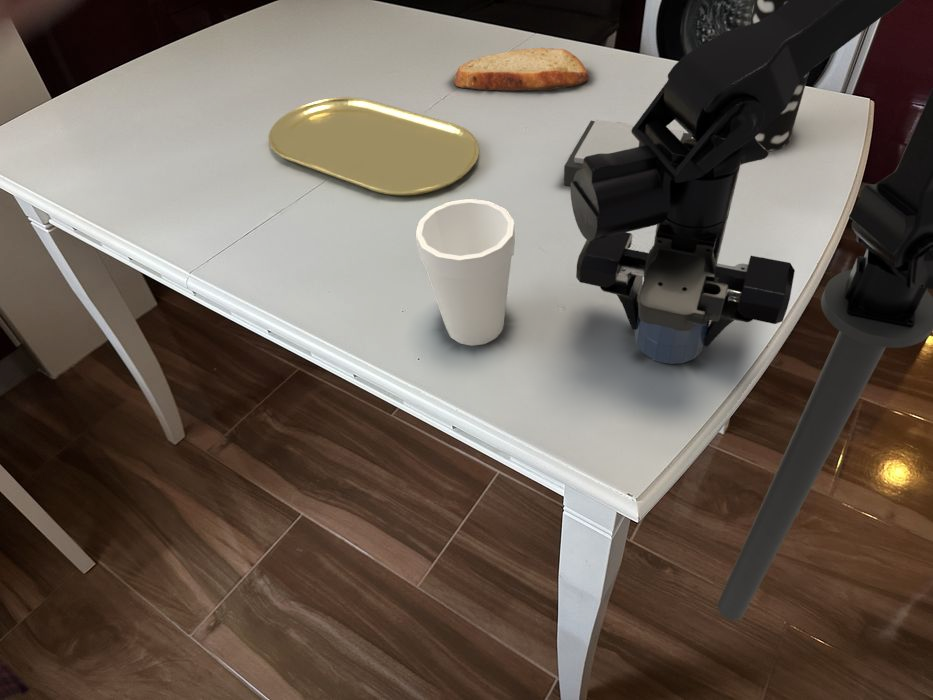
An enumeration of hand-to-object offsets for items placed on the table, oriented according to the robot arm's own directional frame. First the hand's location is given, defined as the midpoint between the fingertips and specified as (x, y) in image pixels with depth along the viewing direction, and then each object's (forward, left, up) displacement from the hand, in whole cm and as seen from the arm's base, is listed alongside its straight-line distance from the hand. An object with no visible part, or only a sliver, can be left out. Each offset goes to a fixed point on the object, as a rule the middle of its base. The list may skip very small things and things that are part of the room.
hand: (669, 335), depth 70 cm
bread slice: (+35, -51, -1) cm, 62 cm away
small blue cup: (0, 0, -1) cm, 1 cm away
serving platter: (+49, -25, -1) cm, 55 cm away
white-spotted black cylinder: (-3, -43, -1) cm, 43 cm away
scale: (+12, -30, -1) cm, 32 cm away
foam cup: (+20, +4, -1) cm, 20 cm away
